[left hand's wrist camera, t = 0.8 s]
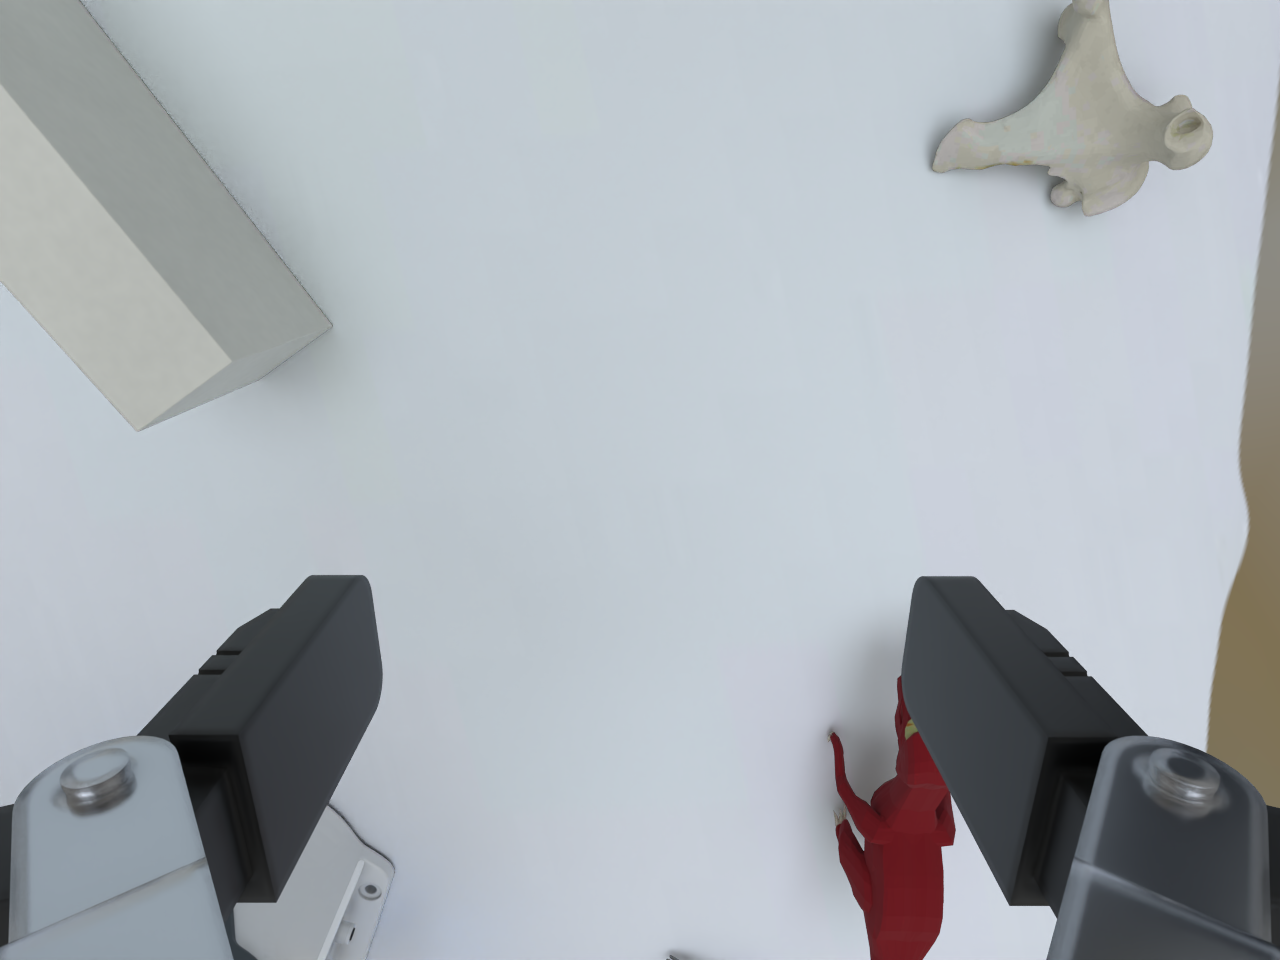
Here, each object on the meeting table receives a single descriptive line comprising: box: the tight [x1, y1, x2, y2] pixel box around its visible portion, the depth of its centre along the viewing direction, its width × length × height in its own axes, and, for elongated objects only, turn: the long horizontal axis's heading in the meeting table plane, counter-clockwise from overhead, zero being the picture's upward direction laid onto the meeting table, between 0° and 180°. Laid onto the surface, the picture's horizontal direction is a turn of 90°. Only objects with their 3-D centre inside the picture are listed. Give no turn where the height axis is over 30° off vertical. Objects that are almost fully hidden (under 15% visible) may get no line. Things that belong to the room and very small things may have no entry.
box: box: [0, 0, 332, 432], centre depth 35 cm, size 24×6×11 cm, turn 33°
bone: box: [932, 0, 1213, 216], centre depth 38 cm, size 10×6×10 cm
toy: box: [828, 676, 956, 960], centre depth 46 cm, size 7×25×15 cm
